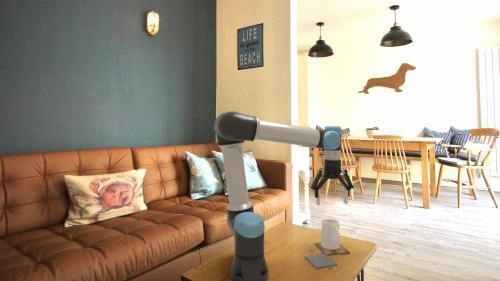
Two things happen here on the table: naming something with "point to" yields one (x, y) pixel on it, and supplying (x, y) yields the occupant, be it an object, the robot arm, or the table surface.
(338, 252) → the walnut coaster
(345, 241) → the table surface
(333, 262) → the slate coaster
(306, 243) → the table surface
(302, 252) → the table surface
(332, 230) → the mug
